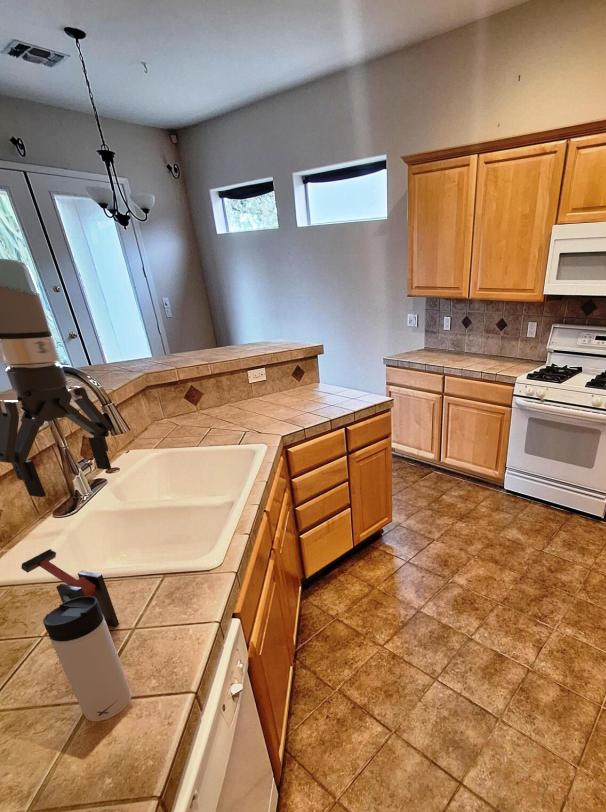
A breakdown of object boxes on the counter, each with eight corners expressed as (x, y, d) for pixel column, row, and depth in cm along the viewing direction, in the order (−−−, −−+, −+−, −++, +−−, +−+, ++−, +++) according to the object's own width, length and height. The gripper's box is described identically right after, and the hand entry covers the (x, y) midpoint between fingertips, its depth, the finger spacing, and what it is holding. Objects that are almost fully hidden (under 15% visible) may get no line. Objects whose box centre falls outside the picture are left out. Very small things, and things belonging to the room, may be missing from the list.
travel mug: (115, 730, 63) (72, 625, 54) (76, 724, 64) (27, 619, 55) (145, 695, 68) (110, 594, 60) (108, 689, 69) (68, 589, 61)
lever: (20, 570, 73) (21, 561, 72) (49, 555, 78) (50, 546, 76) (75, 606, 73) (77, 597, 72) (100, 589, 78) (102, 580, 77)
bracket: (52, 647, 77) (26, 590, 72) (96, 615, 85) (75, 561, 80) (106, 661, 75) (83, 602, 69) (146, 626, 82) (128, 571, 77)
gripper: (-36, 377, 60) (20, 512, 69) (114, 356, 82) (141, 461, 91) (-74, 374, 62) (-14, 506, 71) (82, 354, 83) (113, 457, 93)
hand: (73, 481), depth 81 cm, fingers open, 13 cm apart
